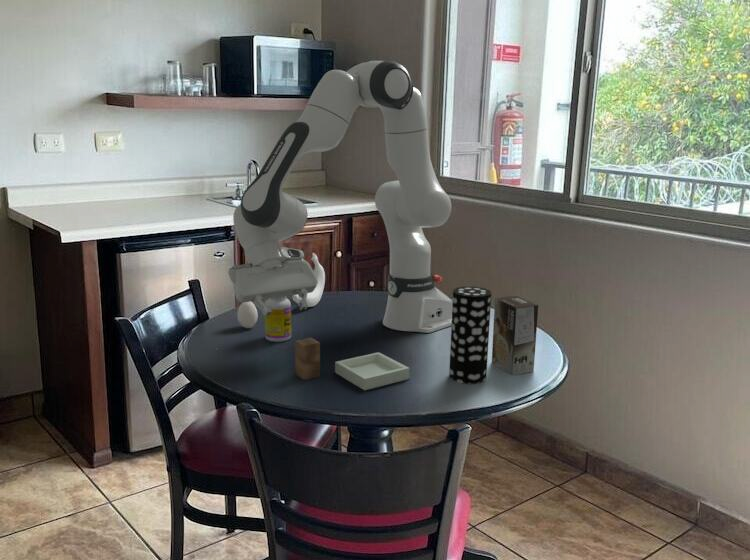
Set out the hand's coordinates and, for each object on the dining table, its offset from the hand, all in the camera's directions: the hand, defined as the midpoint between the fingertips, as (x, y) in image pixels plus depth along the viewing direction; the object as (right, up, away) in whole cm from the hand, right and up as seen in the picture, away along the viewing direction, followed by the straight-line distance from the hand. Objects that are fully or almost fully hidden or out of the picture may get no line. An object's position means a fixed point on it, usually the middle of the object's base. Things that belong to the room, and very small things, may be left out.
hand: (286, 311), depth 166 cm
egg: (-14, -6, +27) cm, 31 cm away
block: (+5, -14, -4) cm, 16 cm away
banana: (+1, -1, +49) cm, 49 cm away
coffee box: (+53, -13, +3) cm, 54 cm away
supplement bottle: (-4, -8, +20) cm, 22 cm away
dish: (+20, -14, -4) cm, 25 cm away
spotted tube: (+41, -15, -4) cm, 44 cm away
